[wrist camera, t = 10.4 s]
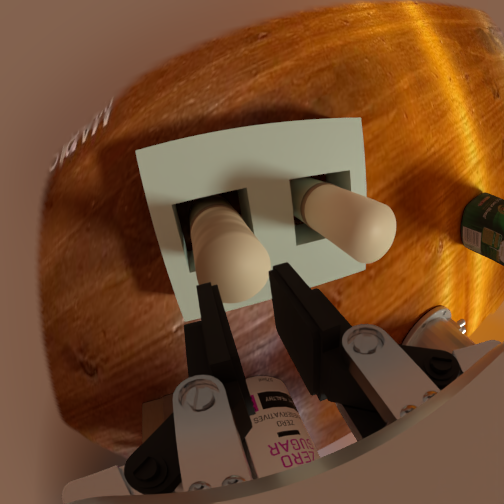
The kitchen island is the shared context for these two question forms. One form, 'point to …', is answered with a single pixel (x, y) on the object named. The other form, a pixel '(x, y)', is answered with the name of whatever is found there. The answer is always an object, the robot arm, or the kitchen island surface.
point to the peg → (226, 250)
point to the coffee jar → (484, 227)
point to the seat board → (272, 199)
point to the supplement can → (276, 429)
